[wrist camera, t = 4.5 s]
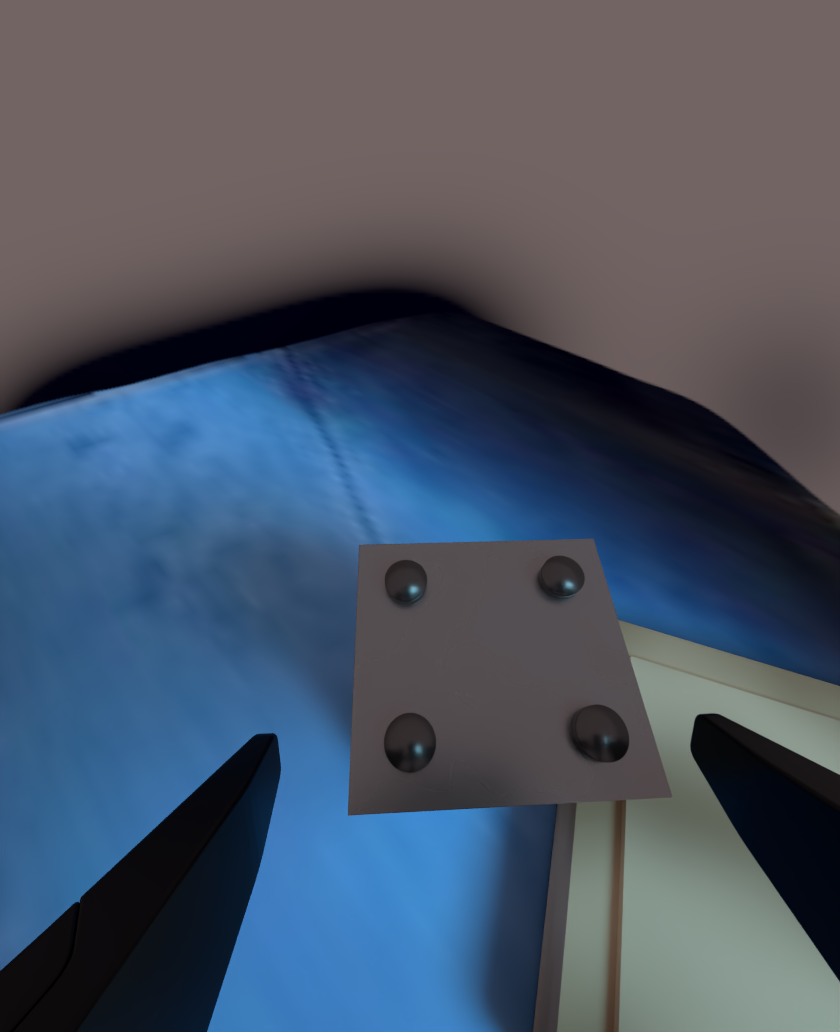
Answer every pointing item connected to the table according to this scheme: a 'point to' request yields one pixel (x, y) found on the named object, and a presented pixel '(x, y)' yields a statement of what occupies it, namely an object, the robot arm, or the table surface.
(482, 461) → the table surface
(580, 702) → the plate
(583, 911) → the stand
